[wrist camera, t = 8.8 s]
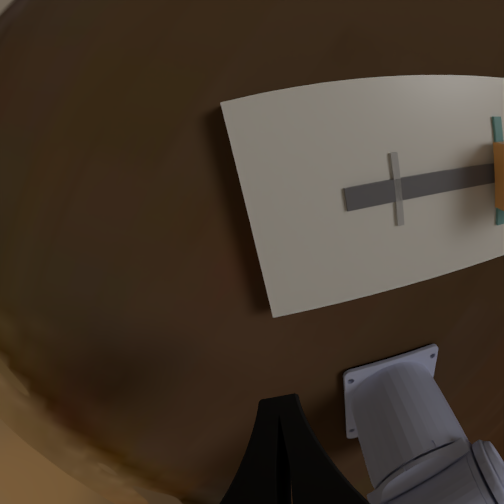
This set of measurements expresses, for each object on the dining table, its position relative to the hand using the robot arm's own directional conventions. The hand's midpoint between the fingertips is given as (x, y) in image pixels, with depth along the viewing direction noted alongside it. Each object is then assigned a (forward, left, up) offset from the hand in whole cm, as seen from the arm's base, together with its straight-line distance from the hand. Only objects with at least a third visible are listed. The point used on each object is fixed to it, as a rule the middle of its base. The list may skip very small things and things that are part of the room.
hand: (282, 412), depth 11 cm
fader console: (+5, -14, -9) cm, 18 cm away
